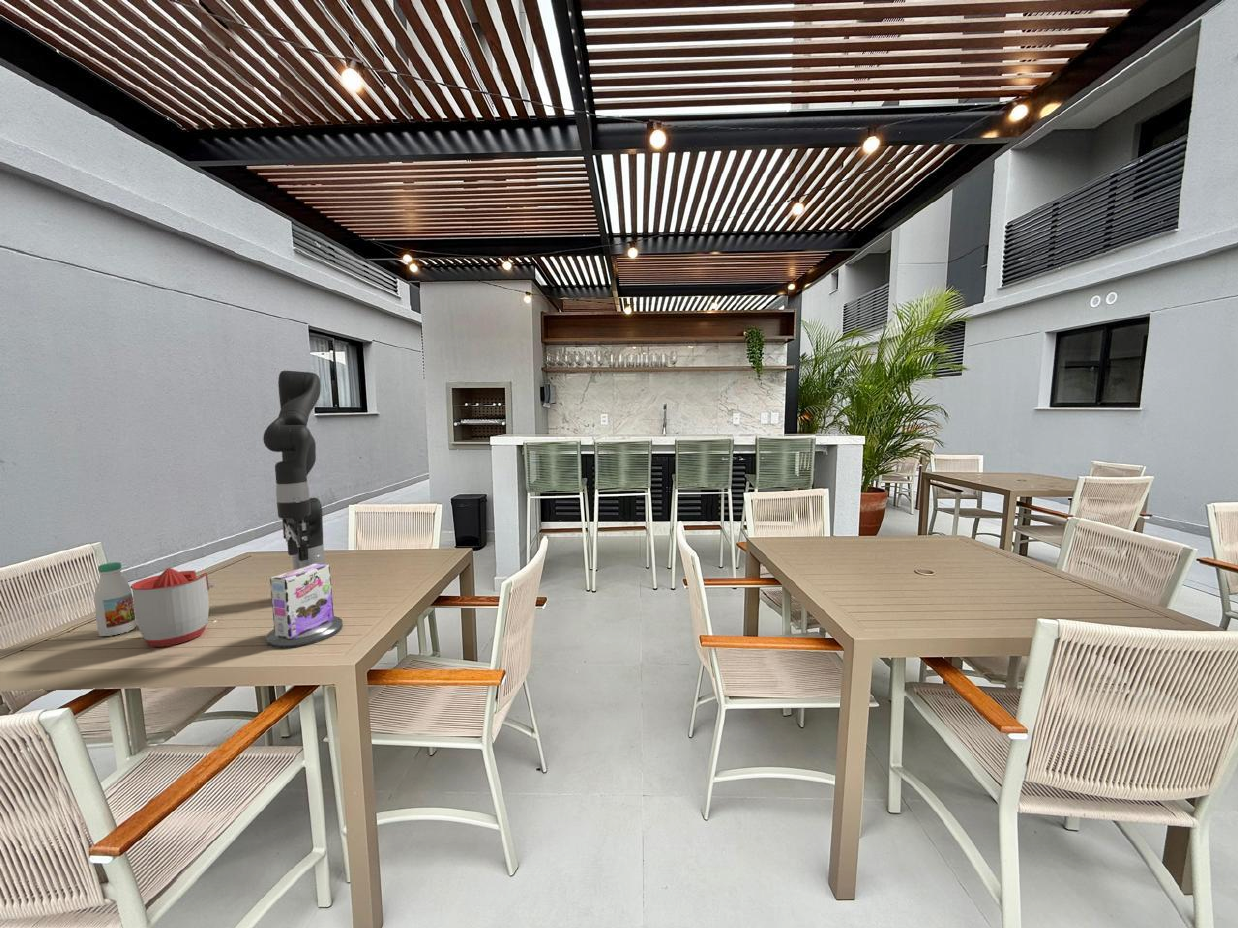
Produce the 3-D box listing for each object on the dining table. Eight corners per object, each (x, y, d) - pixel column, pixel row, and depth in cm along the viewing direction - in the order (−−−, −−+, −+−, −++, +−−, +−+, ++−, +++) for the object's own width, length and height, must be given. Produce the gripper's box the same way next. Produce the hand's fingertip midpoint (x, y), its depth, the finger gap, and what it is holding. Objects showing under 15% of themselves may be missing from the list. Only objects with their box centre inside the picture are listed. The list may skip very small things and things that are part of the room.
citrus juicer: (232, 629, 144) (224, 561, 142) (156, 655, 128) (147, 579, 127) (201, 621, 151) (193, 556, 149) (125, 645, 135) (116, 573, 133)
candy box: (290, 639, 132) (284, 578, 131) (273, 637, 134) (268, 577, 132) (335, 619, 145) (330, 563, 143) (319, 617, 147) (315, 562, 145)
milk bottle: (93, 640, 139) (84, 569, 137) (105, 629, 146) (97, 562, 144) (130, 633, 143) (121, 565, 141) (140, 624, 150) (132, 558, 148)
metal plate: (258, 635, 139) (257, 630, 139) (329, 615, 152) (328, 610, 152) (278, 654, 127) (277, 648, 127) (353, 630, 141) (352, 625, 140)
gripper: (269, 498, 138) (274, 556, 139) (285, 503, 128) (291, 565, 130) (300, 494, 143) (304, 550, 145) (318, 499, 134) (322, 558, 136)
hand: (298, 557), depth 138 cm, fingers open, 8 cm apart
